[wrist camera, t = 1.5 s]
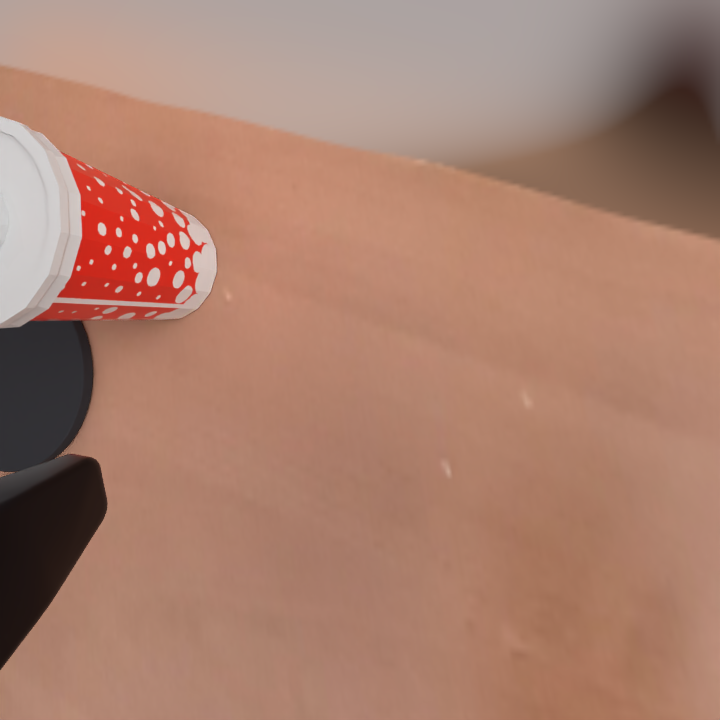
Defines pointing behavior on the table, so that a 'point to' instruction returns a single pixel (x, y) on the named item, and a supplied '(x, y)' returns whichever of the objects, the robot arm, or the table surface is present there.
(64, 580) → the robot arm
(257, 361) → the table surface
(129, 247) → the beverage cup
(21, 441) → the coaster
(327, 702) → the table surface
